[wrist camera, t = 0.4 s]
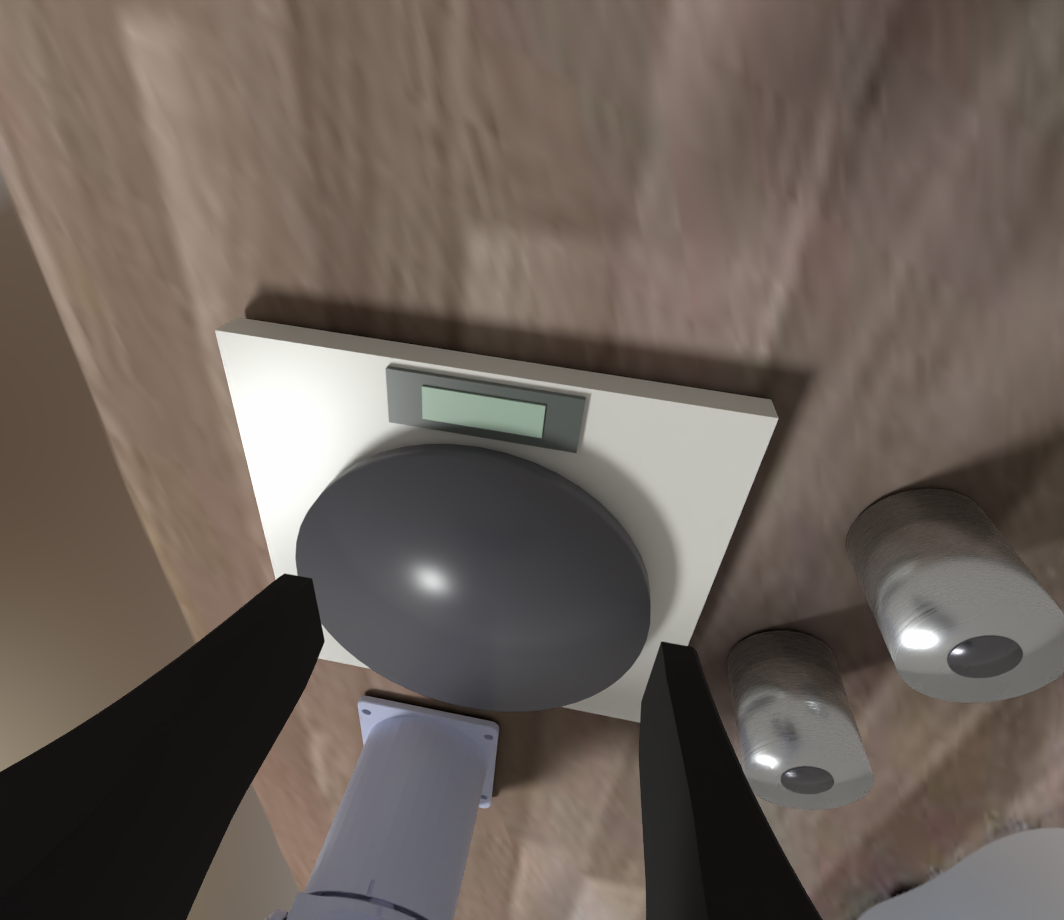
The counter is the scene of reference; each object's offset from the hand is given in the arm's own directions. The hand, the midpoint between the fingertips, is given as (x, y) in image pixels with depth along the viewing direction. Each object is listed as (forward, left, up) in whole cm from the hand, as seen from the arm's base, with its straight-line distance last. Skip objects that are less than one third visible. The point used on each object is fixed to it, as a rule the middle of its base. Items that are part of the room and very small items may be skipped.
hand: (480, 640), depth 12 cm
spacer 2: (-3, -14, -10) cm, 17 cm away
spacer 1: (-11, -12, -10) cm, 19 cm away
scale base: (-7, +2, -10) cm, 12 cm away
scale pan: (-8, +2, -8) cm, 11 cm away
